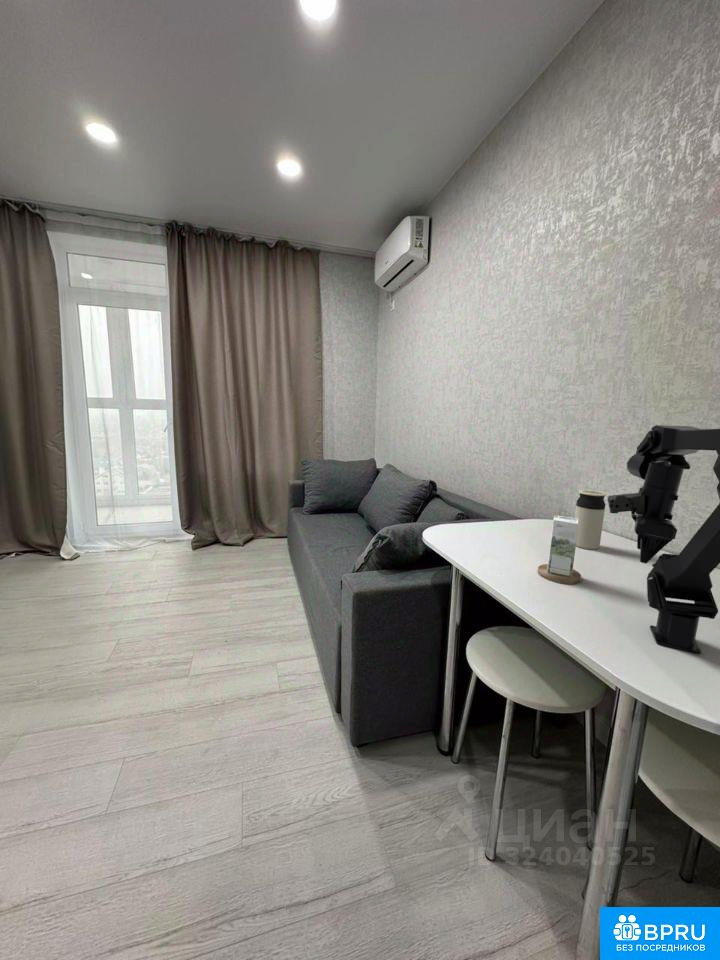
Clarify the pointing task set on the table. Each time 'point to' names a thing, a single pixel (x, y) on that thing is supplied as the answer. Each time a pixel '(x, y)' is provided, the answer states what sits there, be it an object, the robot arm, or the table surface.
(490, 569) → the table surface
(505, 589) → the table surface
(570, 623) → the table surface
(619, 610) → the table surface
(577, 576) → the walnut stand
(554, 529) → the syrup box
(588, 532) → the travel mug
